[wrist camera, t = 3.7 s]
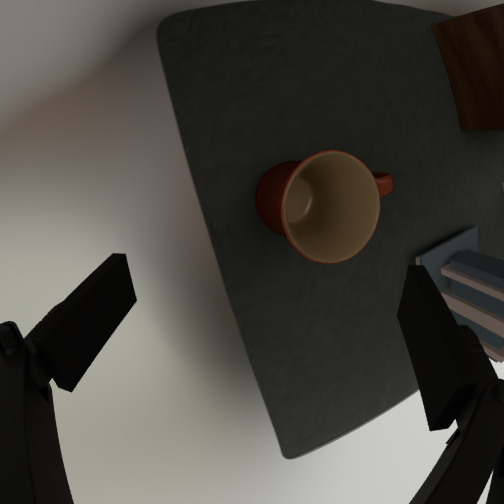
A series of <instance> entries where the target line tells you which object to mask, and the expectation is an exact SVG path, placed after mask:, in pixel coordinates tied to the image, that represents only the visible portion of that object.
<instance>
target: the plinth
mask: <svg viewBox="0 0 504 504" xmlns="http://www.w3.org/2000/svg"><path fill="white" fill-rule="evenodd" d="M432 28H433V31H434V33H435V36H436V39H437V42H438V44H439V47H440V50H441V53H442V56H443V59H444V63H445V66H446V69H447V72H448V76H449V79H450V83H451V87H452V90H453V94H454V98H455V102H456V107H457V111H458V115H459V120H460V125H461V130H462V131H469V130H504V4H500V5H496V6H492V7H489V8H485V9H482V10H478V11H475V12H471V13H468V14H464V15H461V16H458V17H455V18H452V19H449V20H446V21H443V22H441V23H438V24H435V25H432Z"/></svg>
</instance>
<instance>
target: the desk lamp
mask: <svg viewBox="0 0 504 504" xmlns="http://www.w3.org/2000/svg"><path fill="white" fill-rule="evenodd" d="M415 258H416V265H424V266H425V268H426V269H427V271H428V273H429V274H430V276H431V278H432V279H433V281H434V283H435V284H436V286H437V288H438V289H439V291H440V293H441V295H442V296H443V298H444V300H445V302H446V303H447V305H448V307H449V309H450V311H451V312H452V314H453V316H454V318H455V320H456V322H457V324H458V325H468V326H469V327H470V328H471V329H472V330H473V331H474V332H475V333H476V335H477V337H478V338H479V340H480V344H482V346H483V348H484V352H486V354H487V356H488V358H490V359H492V360H493V361H495V362H498V361H499V362H500V363H502V362H503V361H504V261H502V260H499V259H496V258H493V257H490V256H487V255H484V254H481V253H478V226H477V225H475V226H473V227H471V228H470V229H468V230H466V231H464V232H462V233H460V234H459V235H457V236H455V237H453V238H451V239H449V240H447V241H446V242H444V243H442V244H440V245H438V246H436V247H434V248H432V249H430V250H428V251H426V252H424V253H422V254H420V255H419V256H417V257H415Z"/></svg>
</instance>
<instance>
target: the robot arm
mask: <svg viewBox="0 0 504 504" xmlns="http://www.w3.org/2000/svg"><path fill="white" fill-rule="evenodd" d="M136 301H137V299H136V295H135V291H134V287H133V283H132V279H131V275H130V271H129V267H128V262H127V258H126V254H119V253H113V254H112V255H111V256H110V257H108V258H107V259H106V260H105V261H104V262H103V263H102V264H101V265H100V266H99V267H98V268H97V269H96V270H95V271H93V272H92V273H91V274H90V275H89V276H88V277H87V278H86V279H85V280H84V281H83V282H82V283H81V284H80V285H79V286H78V287H77V288H76V289H75V290H74V291H73V292H72V293H71V294H70V295H69V296H68V297H67V298H66V299H65V300H64V301H62V302H61V303H59V304H58V305H56V306H54V307H53V309H51V310H50V312H48V314H47V315H46V316H45V317H44V318H43V319H42V321H40V322H39V323H38V324H37V325H36V326H35V327H34V328H33V329H32V330H31V332H30V333H29V334H28V335H27V336H26V337H25V338H23V337H22V335H21V333H20V331H19V329H18V327H17V325H16V323H15V322H13V321H7V322H4V323H1V324H0V504H74V503H73V499H72V495H71V492H70V488H69V484H68V481H67V476H66V472H65V468H64V463H63V459H62V454H61V449H60V444H59V438H58V432H57V427H56V420H55V412H54V405H53V396H52V389H51V386H50V384H49V382H50V380H51V379H52V378H53V380H54V381H55V383H56V385H57V386H58V388H61V389H63V390H66V391H69V392H72V391H73V390H74V388H75V387H76V385H77V384H78V382H79V381H80V379H81V378H82V377H83V375H84V374H85V372H86V371H87V369H88V368H89V366H90V365H91V363H92V362H93V361H94V359H95V357H96V356H97V355H98V353H99V352H100V351H101V349H102V348H103V346H104V345H105V343H106V342H107V341H108V339H109V338H110V337H111V335H112V334H113V332H114V331H115V330H116V328H117V327H118V326H119V324H120V323H121V321H122V320H123V319H124V317H125V316H126V315H127V313H128V312H129V311H130V309H131V308H132V307H133V305H134V303H136ZM397 317H398V320H399V323H400V326H401V329H402V332H403V335H404V339H405V342H406V345H407V348H408V351H409V355H410V358H411V361H412V365H413V368H414V371H415V375H416V379H417V382H418V386H419V390H420V393H421V397H422V401H423V405H424V409H425V413H426V417H427V422H428V426H429V430H430V431H435V430H442V429H447V428H449V427H450V425H451V424H452V423H453V421H454V420H455V419H456V422H457V426H458V428H457V429H456V431H455V432H454V433H453V435H452V436H451V437H450V438H449V440H448V441H447V442H446V444H448V445H447V446H446V448H445V450H444V451H443V453H442V455H441V457H440V458H439V460H438V462H437V463H436V465H435V466H434V468H433V470H432V471H431V473H430V474H429V476H428V477H427V479H426V480H425V482H424V483H423V485H422V486H421V488H420V489H419V490H418V492H417V493H416V495H415V496H414V497H413V499H412V500H411V501H410V503H409V504H477V502H478V500H479V498H480V496H481V494H482V492H483V490H484V488H485V486H486V484H487V482H488V480H489V478H490V475H491V473H492V471H493V475H492V480H491V484H490V489H489V493H488V497H487V501H486V504H504V380H503V379H499V378H498V376H497V374H496V372H495V370H494V368H493V366H492V364H491V362H490V360H489V358H488V356H487V354H486V352H484V348H483V346H482V344H480V340H479V338H478V337H477V335H476V333H475V332H474V331H473V330H472V329H471V328H470V327H469V326H468V325H458V324H457V322H456V320H455V318H454V316H453V314H452V312H451V311H450V309H449V307H448V305H447V303H446V302H445V300H444V298H443V296H442V295H441V293H440V291H439V289H438V288H437V286H436V284H435V283H434V281H433V279H432V278H431V276H430V274H429V273H428V271H427V269H426V268H425V266H424V265H409V266H408V270H407V275H406V280H405V284H404V288H403V293H402V297H401V301H400V305H399V309H398V312H397Z"/></svg>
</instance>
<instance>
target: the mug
mask: <svg viewBox="0 0 504 504" xmlns="http://www.w3.org/2000/svg"><path fill="white" fill-rule="evenodd" d="M393 189H394V182H393V178H392V176H391V174H389V173H381V172H376V173H372V172H371V171H370V169H369V168H368V167H367V166H366V165H365V164H364V163H363V162H362V161H361V160H359V159H358V158H357V157H355V156H353V155H351V154H349V153H346V152H343V151H338V150H327V151H322V152H318V153H315V154H313V155H311V156H309V157H308V158H306V159H305V160H304V161H286V162H283V163H280V164H278V165H276V166H274V167H273V168H271V169H270V170H269V171H267V172H266V173H265V174H264V175H263V177H262V178H261V179H260V181H259V183H258V186H257V189H256V194H255V203H256V208H257V211H258V213H259V215H260V217H261V219H262V220H263V222H264V223H265V224H266V225H267V226H268V227H269V228H270V229H271V230H272V231H274V232H275V233H277V234H279V235H282V236H284V237H286V238H288V239H289V241H290V243H291V244H292V246H293V247H294V248H295V249H296V250H297V251H298V252H299V253H300V254H301V255H302V256H304V257H305V258H307V259H309V260H311V261H313V262H316V263H321V264H336V263H341V262H344V261H346V260H348V259H350V258H352V257H353V256H355V255H356V254H358V253H359V252H360V251H361V250H362V249H363V248H364V247H365V246H366V244H367V243H368V242H369V240H370V239H371V237H372V235H373V233H374V231H375V229H376V226H377V223H378V220H379V216H380V199H381V198H382V197H383V196H385V195H387V194H389V193H391V192H392V191H393Z"/></svg>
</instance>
